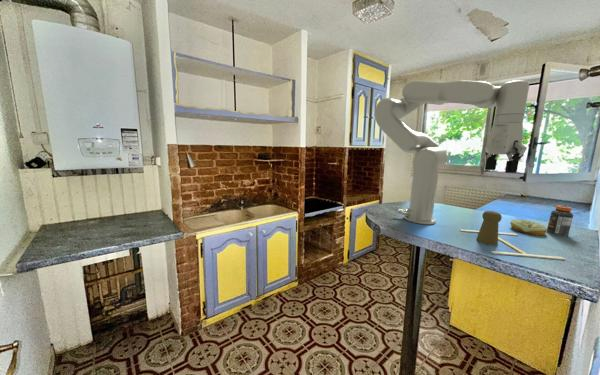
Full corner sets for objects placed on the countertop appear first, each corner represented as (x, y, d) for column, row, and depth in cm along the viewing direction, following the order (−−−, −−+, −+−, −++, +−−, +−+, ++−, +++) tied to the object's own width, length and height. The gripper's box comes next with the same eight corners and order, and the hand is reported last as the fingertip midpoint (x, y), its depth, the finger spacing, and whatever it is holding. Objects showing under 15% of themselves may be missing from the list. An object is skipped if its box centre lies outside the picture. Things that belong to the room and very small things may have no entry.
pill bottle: (544, 229, 99) (551, 203, 97) (565, 233, 96) (572, 206, 94) (548, 234, 94) (555, 206, 92) (570, 238, 91) (578, 209, 89)
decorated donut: (526, 236, 92) (528, 226, 91) (503, 226, 103) (504, 217, 102) (553, 237, 92) (555, 227, 92) (527, 227, 103) (529, 218, 102)
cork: (490, 238, 88) (496, 209, 85) (502, 246, 82) (508, 215, 80) (472, 237, 88) (477, 208, 86) (483, 244, 82) (489, 213, 80)
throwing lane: (493, 253, 76) (493, 252, 75) (459, 230, 95) (460, 229, 95) (565, 260, 73) (565, 258, 73) (515, 234, 93) (515, 233, 93)
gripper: (479, 123, 90) (473, 168, 93) (516, 118, 73) (507, 174, 76) (501, 123, 89) (493, 169, 93) (543, 118, 73) (532, 174, 76)
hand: (499, 171), depth 84 cm, fingers open, 9 cm apart
